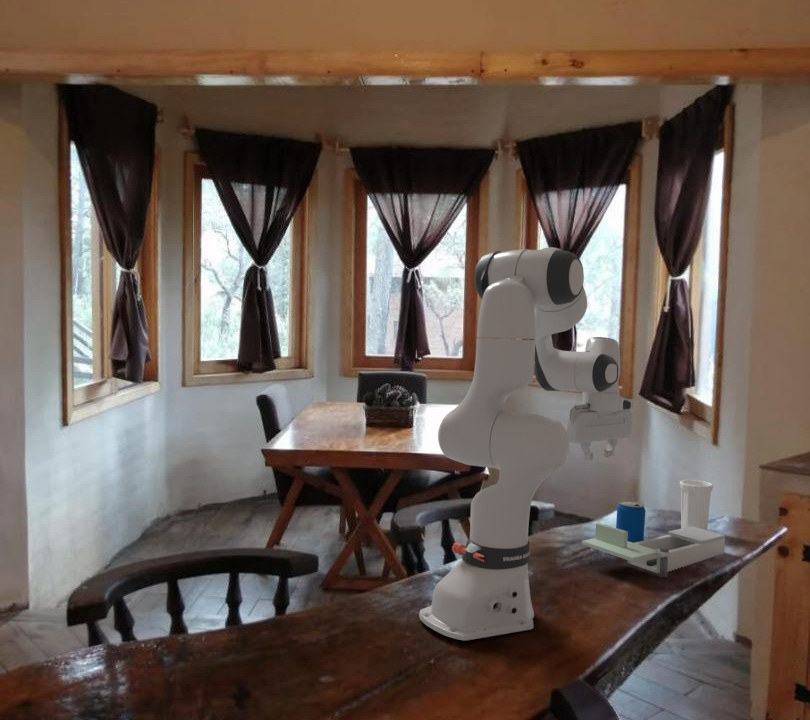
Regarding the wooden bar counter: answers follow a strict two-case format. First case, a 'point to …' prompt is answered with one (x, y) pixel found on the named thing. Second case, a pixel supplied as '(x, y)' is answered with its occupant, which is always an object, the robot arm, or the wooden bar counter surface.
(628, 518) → the beverage can
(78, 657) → the wooden bar counter surface
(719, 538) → the white open box
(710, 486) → the cup
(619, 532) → the cover
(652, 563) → the cord
